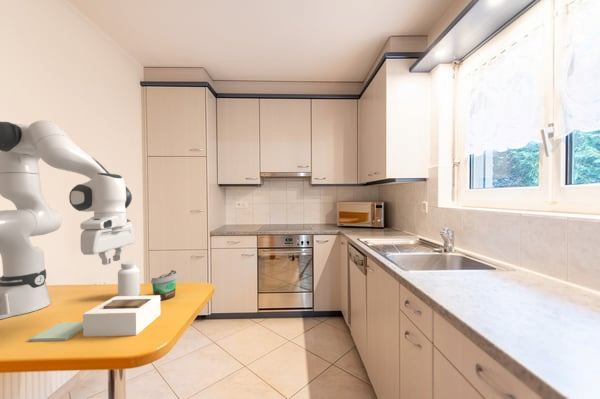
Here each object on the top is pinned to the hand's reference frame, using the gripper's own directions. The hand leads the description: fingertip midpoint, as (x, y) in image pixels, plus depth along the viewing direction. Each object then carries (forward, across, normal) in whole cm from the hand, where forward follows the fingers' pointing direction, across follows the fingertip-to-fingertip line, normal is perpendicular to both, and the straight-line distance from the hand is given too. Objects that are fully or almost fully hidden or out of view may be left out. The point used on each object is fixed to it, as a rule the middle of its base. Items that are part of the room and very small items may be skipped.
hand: (111, 262), depth 85 cm
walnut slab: (+17, 0, +4) cm, 17 cm away
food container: (+21, -23, +7) cm, 32 cm away
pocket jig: (+21, 0, +4) cm, 21 cm away
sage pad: (+21, +4, -13) cm, 25 cm away
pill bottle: (+21, -25, -11) cm, 35 cm away
